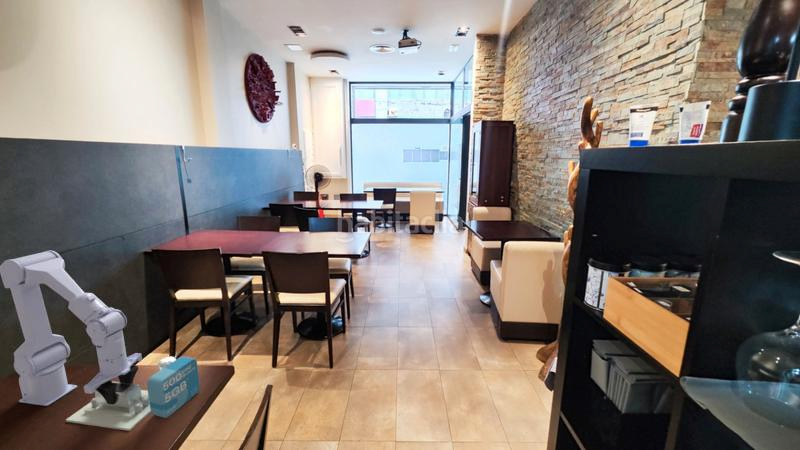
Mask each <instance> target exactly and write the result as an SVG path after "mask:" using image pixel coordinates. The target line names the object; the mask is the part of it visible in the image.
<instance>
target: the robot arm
mask: <svg viewBox="0 0 800 450" xmlns="http://www.w3.org/2000/svg"><path fill="white" fill-rule="evenodd" d="M65 267H66V264H65V260H64V259H63V257H62V256H61V255H60V254H59V253H58V252H56V251H54V250H52V249H51V250H45V251H43V252H39V253H38V252H37V253H34V254H33V253H32V254H30V255H26V256H25V255H24V256H21V257H16V258H12V259H11V258H10V259H5V260H4V261H3V262H2V263H1V264H0V277H1V280H2V284H3V285H4V286H3V287H4V288H5V289H10V291H11V296H12V299H13V302H14V306H15V310H16V314H17V317H18V320H19V323H20V327H21V331H22V334H23V337H24V342H23V343H22V344H21V345H19V347H18V348H16V350H15V351H14V352H13V357H14V358H13V359H14V362H13V367H14V370H15V372H16V373H17V374H18V375H19V378H18V384H19V388H20V392H21V396H22V398H21V399H19V400H18V402H19V403H24V404H31V405H35V406H36V405H37V406H38V405H39V406H45V407H47V406H49V405H52V404H54V403H55V402H56V401H57V400H59V399H60V398H62V397H64V396H65V395H67V394H69V393H70V392H71V391H73V390H74V389H76V388H78V385H76V384H70V383H69V384H68V378H67V373H66V368H65V363H67V358H69V357H70V355H71V347H70V345H69V344H68V343H67V341H66V339H65V337H64V336H63V335H60V334H54V333H52V328H51V323H50V320H49V317H48V312H47V309H46V306H45V302H44V298H43V294H42V290H41V288H40V285H41V284H43V285H46V286H48V287H49V288H50V289H51V290H53V291H54V292H55V293H57V294H58V295H60V296H61V297H62V298H63V299H65V300H66V301H67V302H68V306H67V307H68V311H69V310H70V312H71V313H72V314H74V316H76V317H77V318H78V319H79V320H80V321H82V322H83V323H84V324H85V325H86V328H85V331H86V333H87V335H88V336H89V337H90V339H91V343H92V344H93V346H95V348H96V349H95V350H96V354H97V360H98V361H97V362H98V366H99V372H98V373H97V374H96V375H95V376H94V377H93V378H92V379H91V380H90V381H89V382H88V383H87V384H85V385H83V391H84V393H85V394H90V395H91V394H92V395H93V393H94V394H95V390H96V391H98V392H99V393H100V394H101V395H102V396H103V397H104V399H105V400H106V402H107V404H115V403H116V386H117V383H112V381H113V379H115V378H118V380H119V382H123V383H130V384H134V383H133V382H134V379H135V377H136V374H137V372H138V370H139V366H138V365H134V363H136V362H140V361H142V360H143V357H142V353H138V352H135V353H133V354H131V355H129V356H127V352H126V351H127V350H126V345H125V344H126V343H125V337H124V332H123V329H124V328H126V326H127V323H128V319H127V317H126V315H125V314H124V313H123V311H122V310H120V309H117V308H116V309H115V308H114V307H111V306H110V307H109V306H107V304H105V303H104V302H103V301H102V300H101V299H100V298H98V297H97V295H95V294H94V293H93V292H85V291H84V290H83V289H82V288H81V287H80V286H79V284H77V283H76V281H75V280H74V278H72V277H71V276H70V275H69V273H68V272H67V271H66V270H65Z"/></svg>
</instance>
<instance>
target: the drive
mask: <svg viewBox="0 0 800 450" xmlns="http://www.w3.org/2000/svg"><path fill="white" fill-rule="evenodd" d="M111 381H112V383H117V386H116V403H115V404H107V402H106V400H105V399H104V397H103V396H102V395H101V394H100V393H99V392H98V391H96V390H95V392H94V396H95V397H94V398H96V402H97V408H98V409H102V410H109V411H116V412H123V413H131V412H132V411H133V410H134V405H136V404H138V403H140V404H142V395H141V390H142V388H141V384H136V383H132V384H130V383H123V382H120V381H115V380H111Z"/></svg>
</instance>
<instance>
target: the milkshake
mask: <svg viewBox="0 0 800 450" xmlns="http://www.w3.org/2000/svg"><path fill="white" fill-rule="evenodd" d="M177 355H178V351H176V352H175V355H174V356H167V357H163V358H162V359H161V358H160V360H159V361H158V363H157V365H158V369H159V371H160V370H162V369H163V368H165V367H166V366H168V365H169V364H171V363H172V362H174V361H175V360H177Z"/></svg>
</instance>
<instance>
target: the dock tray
mask: <svg viewBox="0 0 800 450" xmlns="http://www.w3.org/2000/svg"><path fill="white" fill-rule="evenodd" d="M141 395H142V404H140V403H138V404H136V405H134V410H133V411H132V412H131V413H123V412H116V411H109V410H102V409H98V408H97V402H96V397H93V398H91V400H90V402H88V403H87V404H86V405H84V406H83V407H82V408H80V409H78V410H77V411H76V412H74V413H73V414H72V415H70V416H69V417H67V418H66V419H65V422H67V423H73V424H81V425H87V426H94V427H101V428H108V429H115V430H122V431H128V432H131V431H132V430H133V429H134V428H135V427H136V426H137V425H139V424H140V423H141V421H143V420H144V419H145V418H146V417H147V416H149V415H150V414H151V409H150V402H149V396H148V389H141Z"/></svg>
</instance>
